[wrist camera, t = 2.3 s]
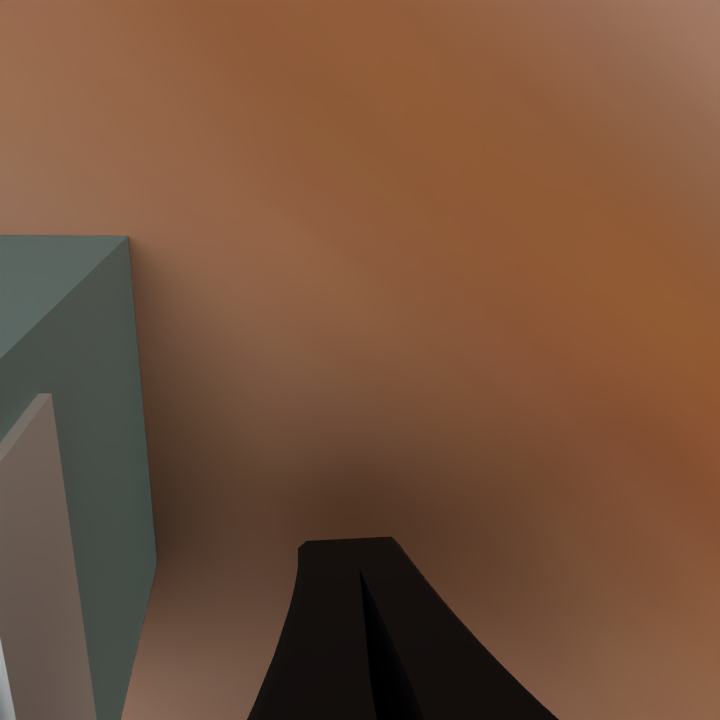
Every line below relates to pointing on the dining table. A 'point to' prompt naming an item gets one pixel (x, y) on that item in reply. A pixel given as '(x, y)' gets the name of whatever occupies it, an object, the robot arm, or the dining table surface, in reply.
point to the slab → (70, 479)
